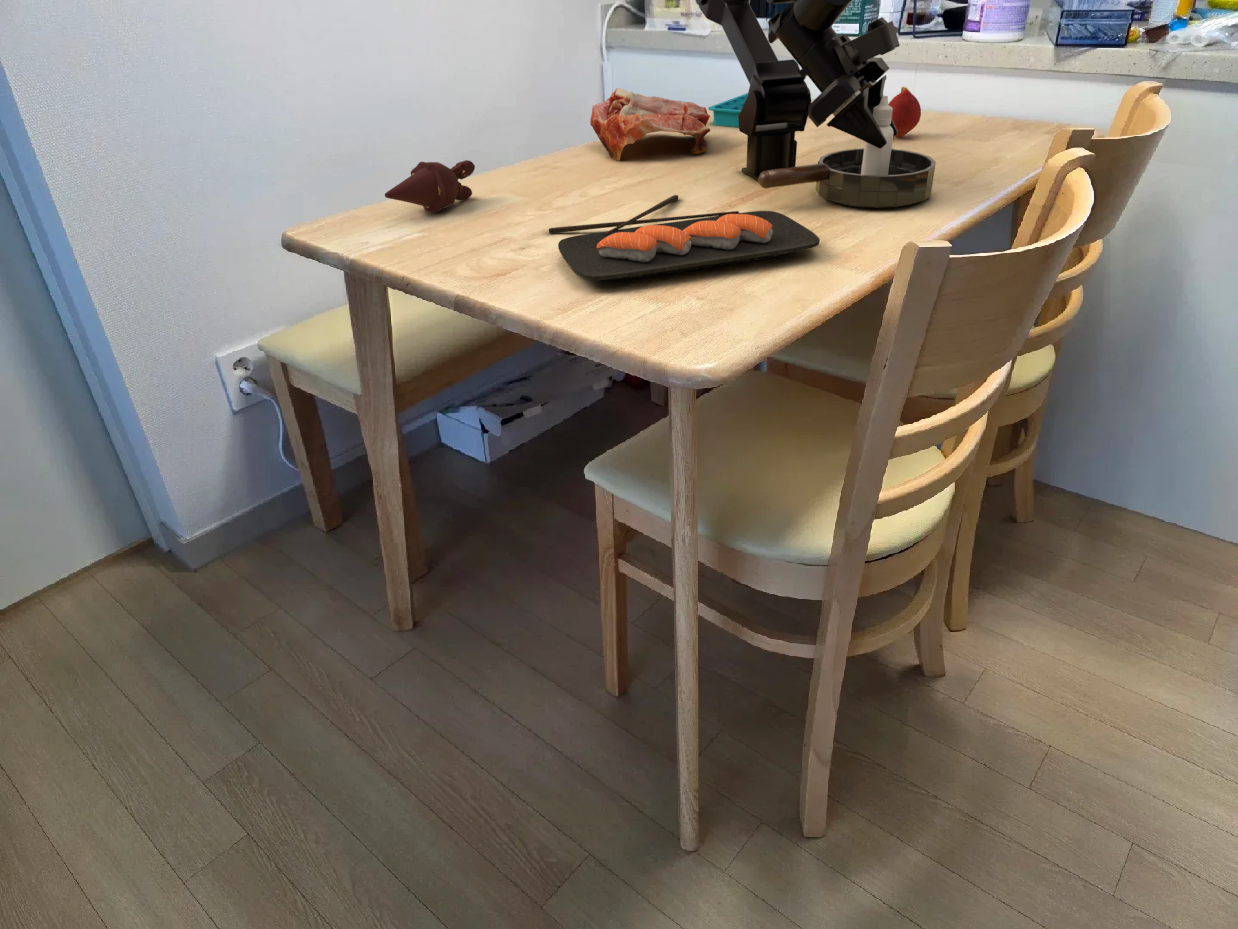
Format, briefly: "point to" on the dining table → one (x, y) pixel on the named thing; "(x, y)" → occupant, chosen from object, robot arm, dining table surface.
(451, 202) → the icecream
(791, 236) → the sushi plate
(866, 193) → the dark frying pan
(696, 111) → the meat
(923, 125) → the dining table surface
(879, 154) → the eye dropper bottle
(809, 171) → the handle
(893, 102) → the onion
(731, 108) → the ice cube tray
